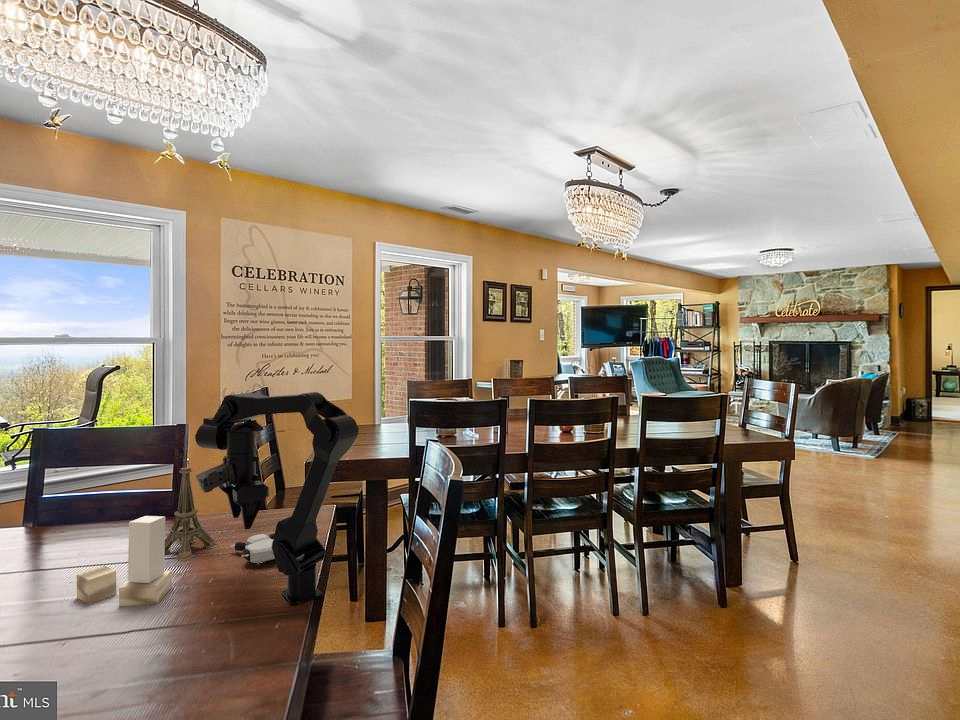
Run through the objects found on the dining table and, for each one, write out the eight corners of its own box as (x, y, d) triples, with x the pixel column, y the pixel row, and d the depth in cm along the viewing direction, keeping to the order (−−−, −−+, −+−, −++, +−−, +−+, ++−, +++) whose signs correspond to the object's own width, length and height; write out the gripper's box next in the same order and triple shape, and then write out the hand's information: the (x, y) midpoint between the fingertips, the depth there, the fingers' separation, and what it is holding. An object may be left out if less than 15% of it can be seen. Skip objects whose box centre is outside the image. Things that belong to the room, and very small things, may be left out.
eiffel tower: (184, 561, 125) (183, 457, 124) (151, 555, 128) (150, 454, 128) (219, 545, 135) (218, 449, 134) (188, 540, 138) (187, 446, 138)
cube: (116, 594, 108) (116, 570, 108) (88, 604, 104) (88, 579, 104) (104, 588, 111) (104, 565, 111) (76, 598, 106) (76, 574, 106)
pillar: (164, 574, 109) (165, 516, 110) (148, 583, 105) (150, 522, 105) (143, 573, 110) (144, 515, 110) (127, 582, 105) (128, 522, 105)
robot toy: (227, 557, 130) (248, 572, 118) (227, 539, 130) (248, 552, 119) (277, 545, 138) (301, 558, 127) (276, 527, 138) (300, 539, 127)
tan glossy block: (171, 588, 111) (171, 570, 111) (157, 604, 104) (157, 584, 104) (135, 591, 110) (135, 572, 110) (119, 607, 103) (118, 587, 103)
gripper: (190, 449, 115) (191, 519, 116) (209, 464, 101) (210, 544, 101) (244, 443, 122) (244, 509, 123) (269, 457, 108) (269, 532, 108)
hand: (241, 523), depth 113 cm, fingers open, 9 cm apart
